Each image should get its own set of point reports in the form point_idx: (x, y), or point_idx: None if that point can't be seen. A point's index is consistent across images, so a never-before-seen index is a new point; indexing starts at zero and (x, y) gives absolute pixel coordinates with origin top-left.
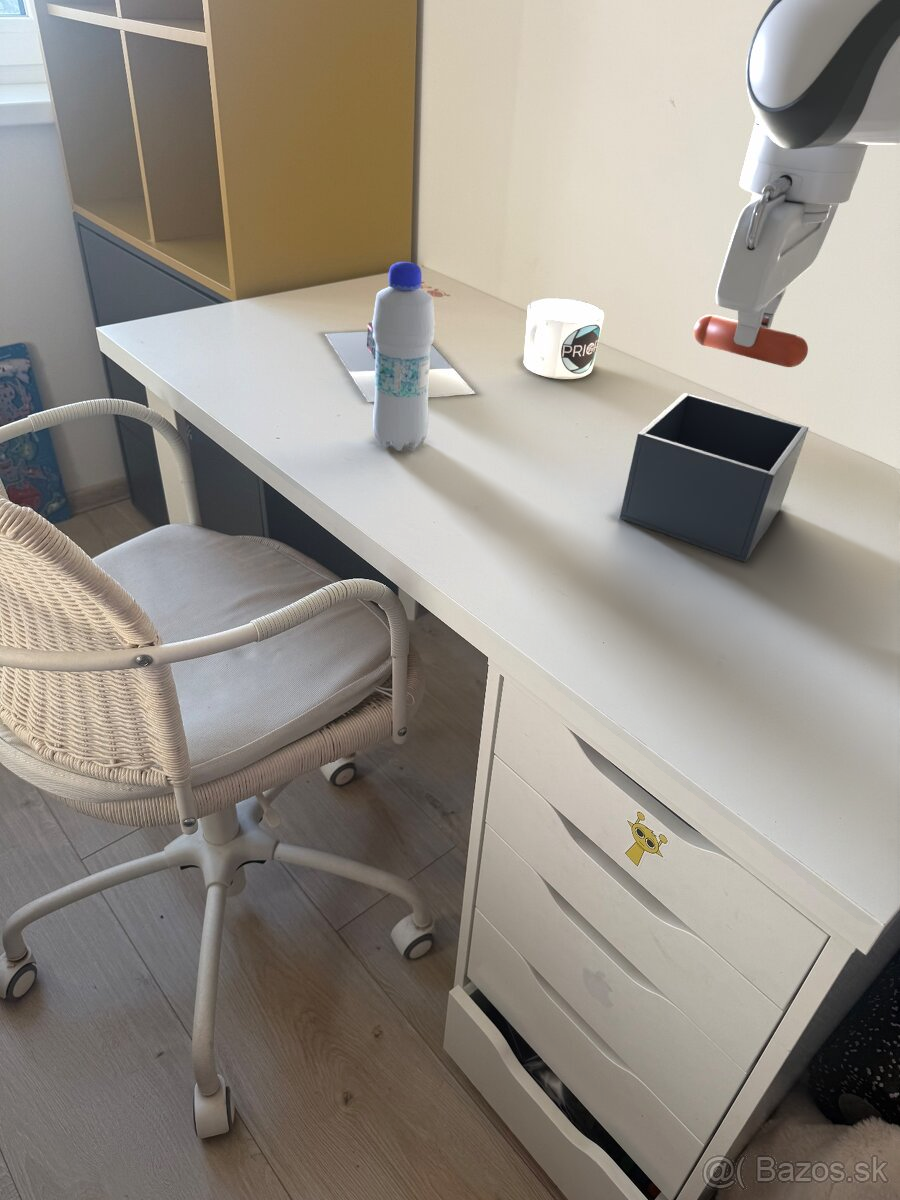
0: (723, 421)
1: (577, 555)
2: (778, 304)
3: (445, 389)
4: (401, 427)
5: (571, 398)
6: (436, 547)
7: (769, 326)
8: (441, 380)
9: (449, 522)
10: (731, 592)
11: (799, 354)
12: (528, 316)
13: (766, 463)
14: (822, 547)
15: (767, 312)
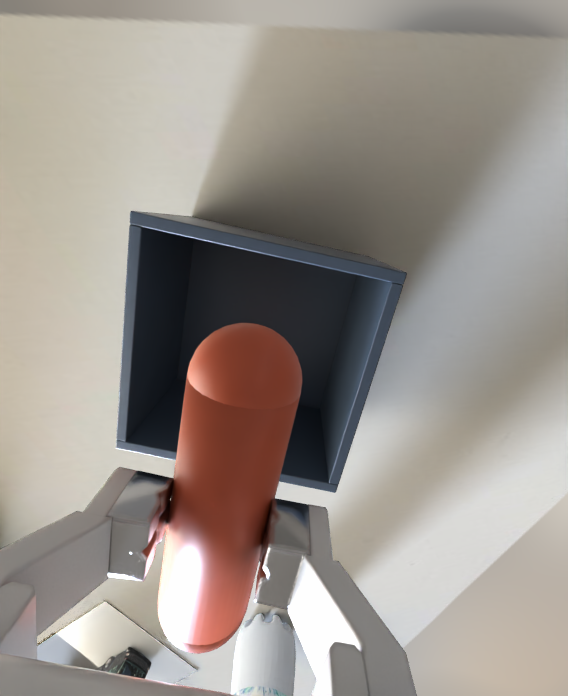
0: (144, 363)
1: (425, 438)
2: (51, 537)
3: (116, 626)
4: (292, 655)
5: (36, 514)
6: (457, 551)
7: (129, 481)
8: (97, 634)
9: (406, 553)
10: (446, 267)
11: (293, 356)
12: None
13: (171, 263)
14: (277, 145)
15: (108, 539)
